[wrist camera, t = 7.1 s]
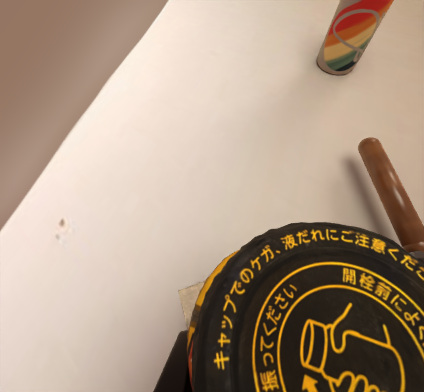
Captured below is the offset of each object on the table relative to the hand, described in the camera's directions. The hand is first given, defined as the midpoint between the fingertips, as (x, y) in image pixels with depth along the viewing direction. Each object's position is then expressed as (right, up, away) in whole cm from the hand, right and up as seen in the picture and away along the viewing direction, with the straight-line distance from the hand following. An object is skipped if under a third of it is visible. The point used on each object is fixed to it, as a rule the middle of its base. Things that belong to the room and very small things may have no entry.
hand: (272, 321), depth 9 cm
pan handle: (+15, +5, +14) cm, 21 cm away
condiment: (0, -4, +5) cm, 7 cm away
